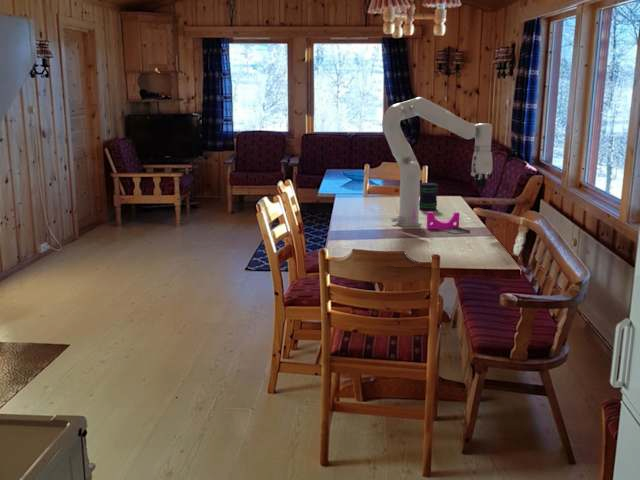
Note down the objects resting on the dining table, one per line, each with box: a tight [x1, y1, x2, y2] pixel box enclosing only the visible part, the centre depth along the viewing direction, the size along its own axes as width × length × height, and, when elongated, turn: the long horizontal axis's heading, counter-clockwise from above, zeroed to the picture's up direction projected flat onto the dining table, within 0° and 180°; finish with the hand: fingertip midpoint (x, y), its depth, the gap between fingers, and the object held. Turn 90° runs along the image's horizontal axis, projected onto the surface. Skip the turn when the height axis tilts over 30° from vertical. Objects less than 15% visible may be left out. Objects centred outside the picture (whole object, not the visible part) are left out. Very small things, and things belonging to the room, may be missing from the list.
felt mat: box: [436, 228, 467, 235], centre depth 307 cm, size 7×18×1 cm, turn 32°
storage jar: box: [419, 182, 439, 212], centre depth 359 cm, size 10×10×15 cm
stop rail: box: [454, 226, 471, 234], centre depth 309 cm, size 1×20×1 cm, turn 32°
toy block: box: [426, 211, 460, 230], centre depth 309 cm, size 15×6×8 cm, turn 86°
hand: (480, 187), depth 313 cm, fingers closed
